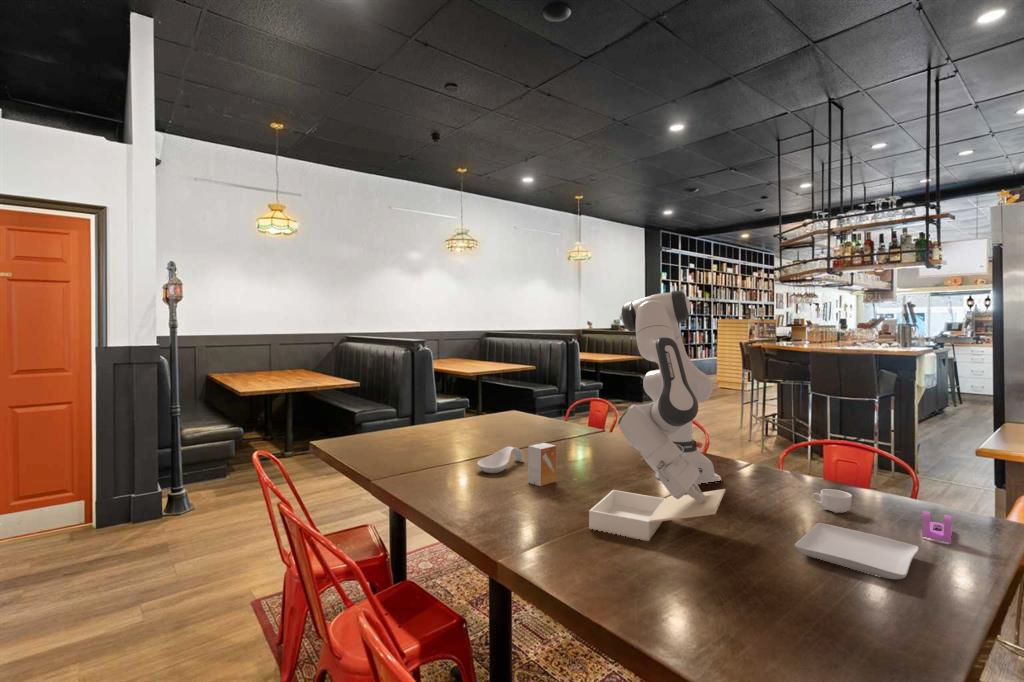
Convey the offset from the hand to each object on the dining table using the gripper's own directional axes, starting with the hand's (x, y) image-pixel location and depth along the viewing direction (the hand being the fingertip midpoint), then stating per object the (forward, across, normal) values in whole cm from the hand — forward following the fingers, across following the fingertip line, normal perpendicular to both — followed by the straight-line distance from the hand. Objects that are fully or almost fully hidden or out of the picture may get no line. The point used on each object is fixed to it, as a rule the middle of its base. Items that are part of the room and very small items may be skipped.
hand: (702, 500), depth 130 cm
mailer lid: (-1, 0, +4) cm, 4 cm away
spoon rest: (-48, +30, +63) cm, 84 cm away
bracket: (+44, +33, -31) cm, 63 cm away
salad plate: (+31, +6, -17) cm, 35 cm away
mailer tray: (-7, 0, +20) cm, 22 cm away
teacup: (+28, +39, -15) cm, 50 cm away
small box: (-33, +21, +47) cm, 61 cm away
